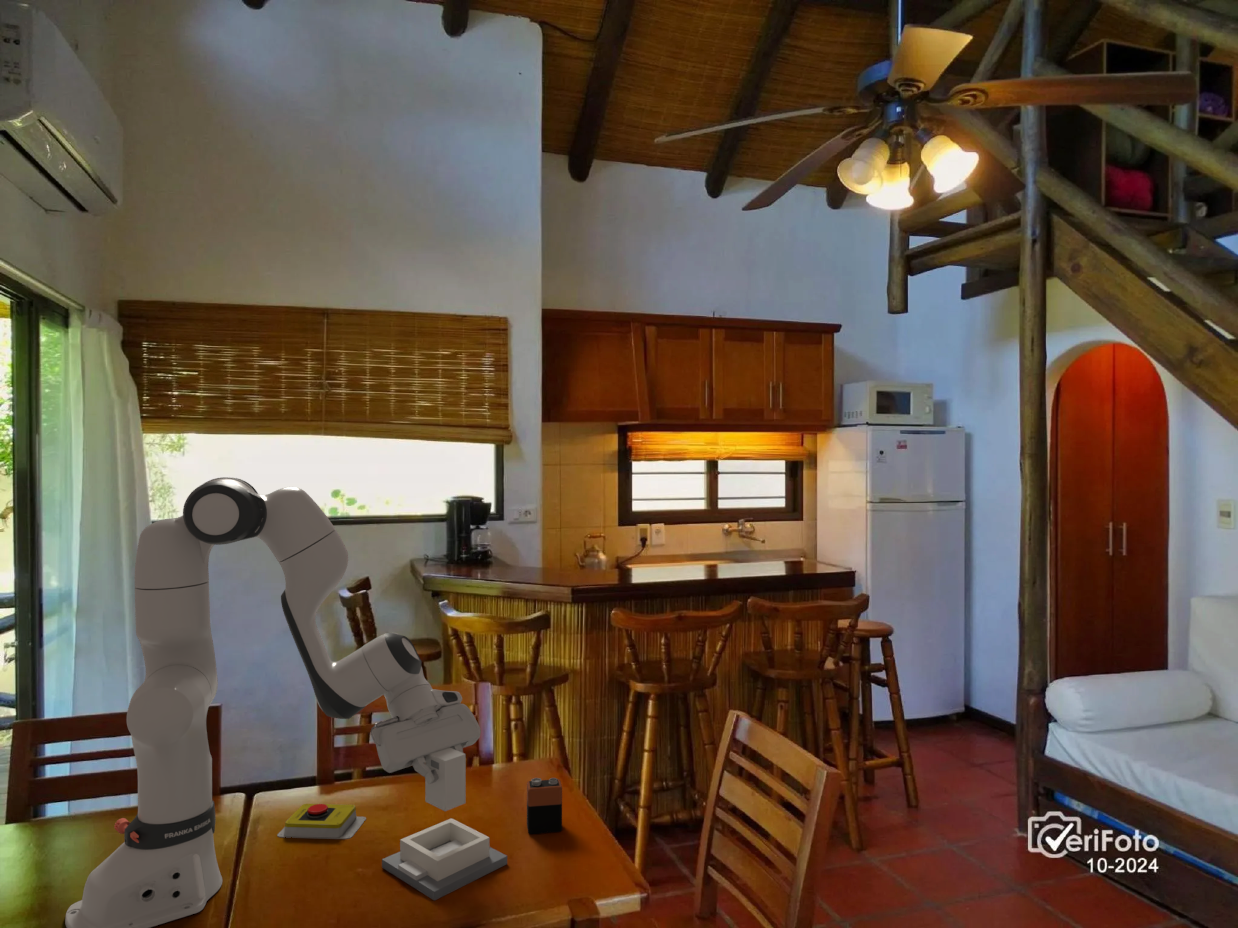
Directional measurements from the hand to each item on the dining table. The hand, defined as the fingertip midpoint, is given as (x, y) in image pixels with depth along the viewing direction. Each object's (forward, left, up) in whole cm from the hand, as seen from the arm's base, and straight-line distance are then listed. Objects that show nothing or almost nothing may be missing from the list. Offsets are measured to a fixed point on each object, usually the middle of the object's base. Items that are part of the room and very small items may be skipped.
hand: (447, 776), depth 143 cm
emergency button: (-7, +31, -17) cm, 37 cm away
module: (0, +1, -5) cm, 5 cm away
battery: (+22, -2, -17) cm, 28 cm away
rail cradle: (0, +1, -17) cm, 17 cm away
